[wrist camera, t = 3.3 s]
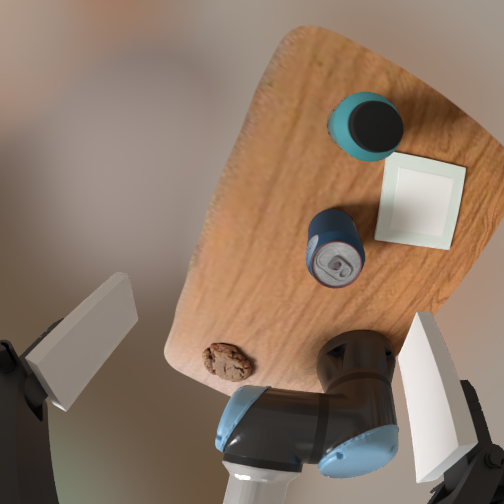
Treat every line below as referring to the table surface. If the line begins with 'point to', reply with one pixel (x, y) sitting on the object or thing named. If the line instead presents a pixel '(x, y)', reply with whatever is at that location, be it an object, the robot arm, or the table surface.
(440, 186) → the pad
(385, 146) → the beverage bottle
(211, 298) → the table surface
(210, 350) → the cookie
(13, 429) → the robot arm
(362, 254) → the soda can
